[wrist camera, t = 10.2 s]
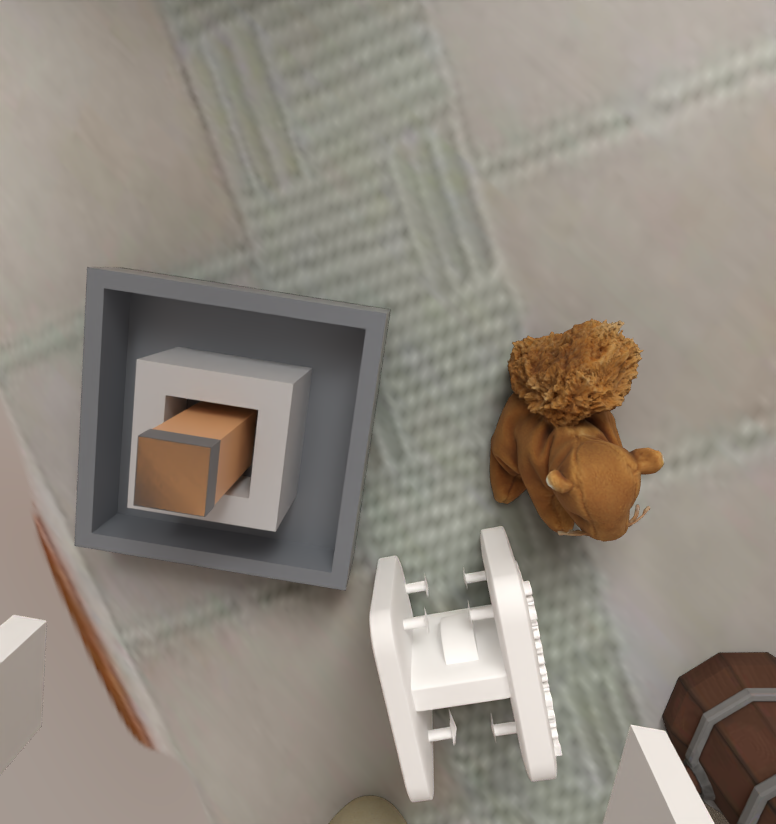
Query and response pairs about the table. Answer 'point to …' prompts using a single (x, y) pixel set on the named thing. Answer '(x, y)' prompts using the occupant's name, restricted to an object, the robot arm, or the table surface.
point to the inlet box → (236, 386)
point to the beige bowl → (368, 812)
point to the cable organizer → (462, 664)
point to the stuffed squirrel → (571, 431)
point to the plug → (193, 458)
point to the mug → (729, 733)
